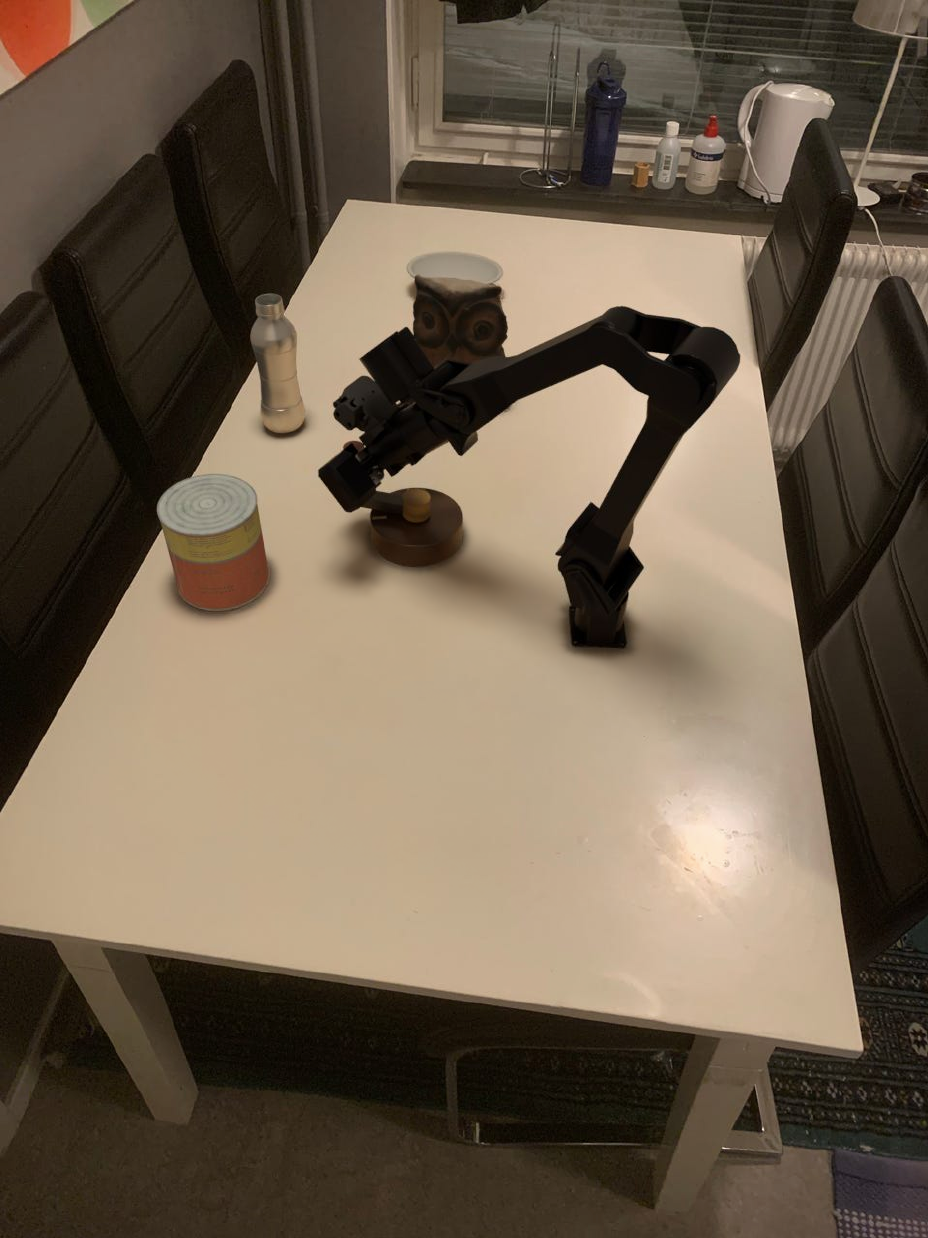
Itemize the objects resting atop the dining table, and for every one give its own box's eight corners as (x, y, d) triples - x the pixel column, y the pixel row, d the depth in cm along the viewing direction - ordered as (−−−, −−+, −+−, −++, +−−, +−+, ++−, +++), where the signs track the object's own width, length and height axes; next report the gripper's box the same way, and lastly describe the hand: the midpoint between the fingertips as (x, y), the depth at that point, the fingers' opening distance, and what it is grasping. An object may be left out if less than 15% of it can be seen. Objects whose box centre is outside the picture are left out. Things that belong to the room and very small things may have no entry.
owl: (511, 410, 142) (521, 287, 128) (438, 428, 138) (439, 303, 124) (475, 371, 150) (480, 251, 136) (404, 387, 146) (402, 265, 132)
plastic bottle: (253, 431, 136) (233, 304, 122) (280, 409, 141) (264, 284, 126) (289, 443, 134) (273, 315, 120) (315, 421, 139) (302, 295, 124)
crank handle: (433, 507, 119) (434, 451, 112) (426, 524, 116) (426, 468, 110) (352, 492, 120) (348, 436, 114) (343, 509, 118) (338, 452, 112)
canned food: (284, 559, 116) (273, 483, 108) (246, 619, 109) (230, 543, 100) (203, 542, 118) (186, 466, 110) (160, 600, 111) (138, 523, 102)
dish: (400, 308, 165) (399, 281, 161) (414, 273, 175) (413, 247, 171) (496, 317, 163) (498, 290, 160) (505, 281, 173) (507, 255, 170)
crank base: (460, 568, 116) (461, 547, 114) (366, 565, 116) (365, 543, 114) (463, 509, 125) (464, 488, 122) (375, 506, 125) (374, 484, 122)
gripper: (422, 334, 108) (351, 385, 120) (325, 409, 97) (257, 457, 109) (476, 413, 111) (401, 455, 123) (388, 494, 100) (315, 532, 112)
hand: (346, 472), depth 116 cm, fingers closed on crank handle, 3 cm apart
